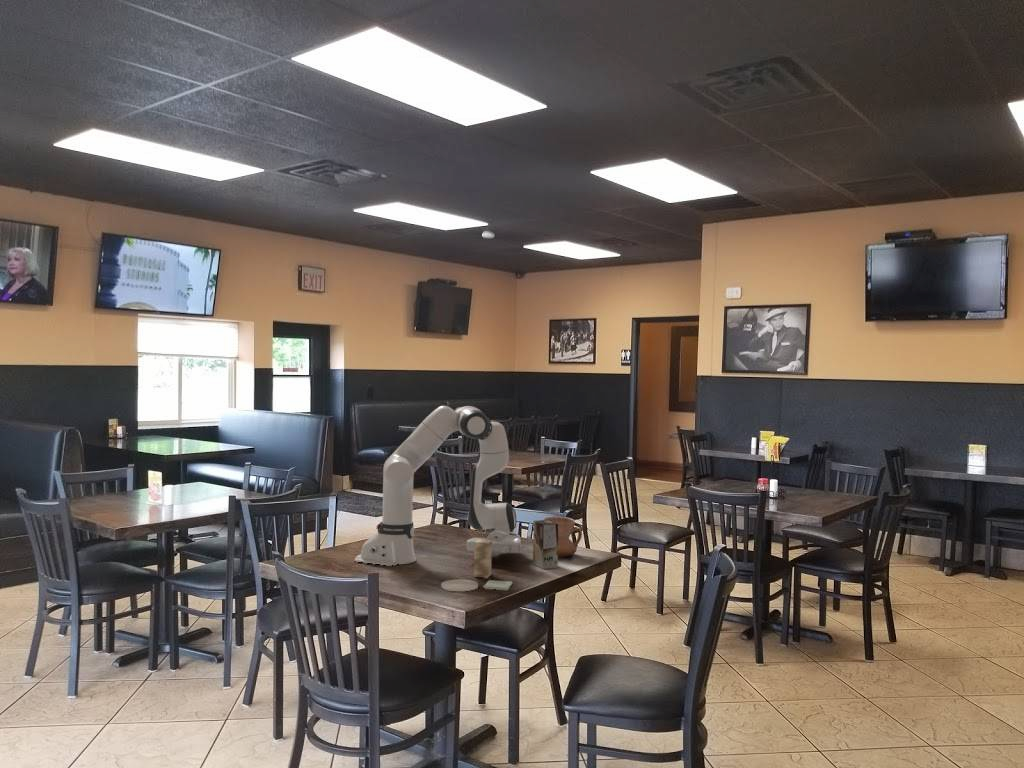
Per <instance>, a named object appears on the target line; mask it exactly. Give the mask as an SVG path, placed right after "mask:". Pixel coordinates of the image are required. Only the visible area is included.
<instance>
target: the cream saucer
mask: <svg viewBox="0 0 1024 768" xmlns="http://www.w3.org/2000/svg"><path fill="white" fill-rule="evenodd" d="M478 587H479V583H478V582H477V581H474V580H471V579H462V578H461V579H460V578H459V579H458V578H457V579H450V580H444V581H442V582H441V584H440V589H442V588H443V589H445V590H448V591H447V592H449V591H469V590H474V589H476V590H478V589H479V588H478ZM443 589H442V590H443ZM445 590H444V591H445ZM474 591H475V590H474ZM469 592H470V591H469Z"/></svg>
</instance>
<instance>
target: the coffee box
mask: <svg viewBox="0 0 1024 768" xmlns="http://www.w3.org/2000/svg"><path fill="white" fill-rule="evenodd" d="M532 529H533V531H532V532H533V534H532V535H533V537H532V538H533V539H532V540H533V543H532V544H533V545H532V548H533V549H532V553H533V554H532V564H533V565H535V566H537V567H539V568H541V569H542V570H547V569H556V568H557V569H558V567H559V558H558V524H557V523H555V522H552V521H549V520H543V519H540V520H533V528H532Z"/></svg>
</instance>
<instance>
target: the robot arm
mask: <svg viewBox="0 0 1024 768" xmlns="http://www.w3.org/2000/svg"><path fill="white" fill-rule="evenodd" d="M457 431H459V432H460V433H461V434H462V435H464V436H466V437H467V438H470V439H473V440H478V444H479V453H480V454H479V459H478V462H477V463H476V464H475V465H474V466H473V469H472V473H471V481H470V484H471V485H470V494H469V495H470V496H469V505H468V507H469V508H468V512H467V522H468V525H469V526H470V527H471V528H472V529H474V530H475V531H481V530H486V529H487V530H489V529H493V530H492V531H491V532H490V533H488V535H487V536H486V537H471V538H470V539H467V540H466V550H467V551H470V552H471V551H473V552H474V542H475V541H477V540H492V552H491V555H492V554H493V555H495V556H498V555H499V556H500V555H502V554H503V555H504V554H520V553H521V552H522V549H521V548H522V540H521V535H520V534H517V533H515V530H516V528H517V513H516V510H515V508H514V507H513V506H512V504H511V503H510V502H497V503H483V502H482V495H483V494H482V492H483V483H484V482H485V480H487V479H488V478H490V477H492V476H495V475H497V474H499V473H501V472H502V471H504V470H505V469H506V467H507V466H508V464H509V462H510V452H509V450H510V449H509V443H508V438H507V432H506V429H505V426H504V425H503V424H502V423H500V422H499V421H490V419H489V418H488V417H487V415H486V414H485V413H484V412H483V411H482V410H480V408H477V407H475V406H473V405H469V404H465V405H460V406H459V407H456V408H451V407H450V406H448V405H440V406H438V407H437V408H435V409H434V410H433V411H432V412H430V414H428V416H426V417H425V418H424V419H423V421H422V422H421V423H420V424H419V425H418V426H417V427H416V428H415V429H414V430H413V431H412V433H411V434H410V435H409V436H408V437H407V438H406V439H405V440H404V441H403V442H402V443H401V444H400V445H399V446H398V447H397V448H396V449H395V450H394V451H393V453H392V454H391V455H390V456H389V457H387V459H386V460H385V462H384V465H383V468H382V469H383V471H382V520H381V522H379V523H378V524H377V525H376V526H375V528H376V530H377V532H376V533H375V534H373V535H372V536H371V537H369V538H368V539H367V540H366V541H365V542H364V543H363V544H362V547H361V552H360V554H358V555H356V557H355V558H354V562H355V561H356V562H355V563H358V562H363V563H362V564H367V563H373V564H372V565H375V564H380V565H379V566H383V565H386V566H385V567H392V565H393V566H397V564H399V565H407V564H411V563H414V562H416V561H417V558H416V554H415V548H414V540H413V538H414V534H415V531H414V530H415V529H414V527H415V526H414V521H413V510H414V509H413V507H414V506H413V501H414V500H413V499H414V477H415V476H414V474H415V473H416V472H417V470H418V469H419V468H421V466H423V464H425V462H426V461H428V460H429V459H430V458H431V457H432V455H433V454H434V453H435V452H436V451H437V450H438V449H439V448H440V446H441V445H442V444H443V443H444V442H445V441H446V440H447V439H448V438H449V436H451V434H453V433H455V432H457Z"/></svg>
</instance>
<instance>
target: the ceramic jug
mask: <svg viewBox="0 0 1024 768" xmlns="http://www.w3.org/2000/svg"><path fill="white" fill-rule="evenodd" d="M542 520H549V521H552V522H555V523H557V524H558V557H561V558H567V557H568V558H569V557H571V556H573V555H574V554H576V552H577V550H578V549H577V548H578V544H579V543H580V542H581V540H582V536H583V531H582V529H581V528H580V527H579V526H575V523H576V521H575V519H573V518H571V517H568V516H567V517H565V516H547V517H544V518H543V519H542ZM575 531H577V533H578V534H577V535H578V536H577V538H576V539H575V543H574V542H573V541H572V540H571V539H570V537H571V534H572V533H573V532H575Z"/></svg>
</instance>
